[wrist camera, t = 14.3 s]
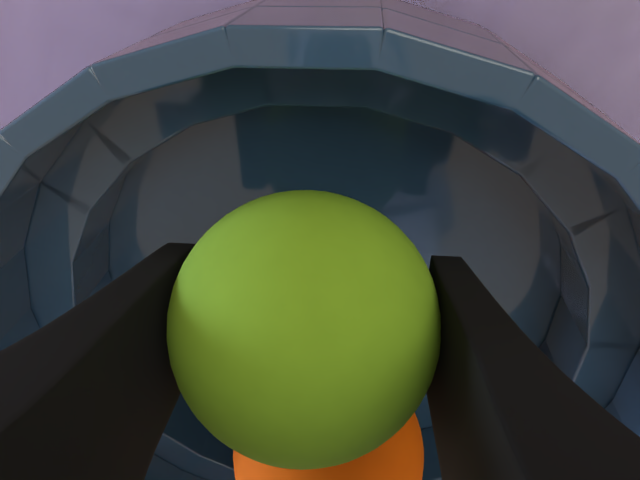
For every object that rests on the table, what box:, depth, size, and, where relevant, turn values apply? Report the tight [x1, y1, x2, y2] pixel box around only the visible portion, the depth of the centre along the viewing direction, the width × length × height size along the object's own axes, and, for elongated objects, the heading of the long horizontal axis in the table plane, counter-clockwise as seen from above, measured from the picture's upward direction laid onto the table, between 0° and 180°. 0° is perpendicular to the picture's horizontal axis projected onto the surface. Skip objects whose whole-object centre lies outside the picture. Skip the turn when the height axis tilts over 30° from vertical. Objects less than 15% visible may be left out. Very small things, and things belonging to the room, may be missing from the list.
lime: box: [167, 190, 441, 470], centre depth 9 cm, size 5×5×5 cm
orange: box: [233, 412, 424, 480], centre depth 14 cm, size 6×6×6 cm
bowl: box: [0, 0, 640, 480], centre depth 13 cm, size 17×17×5 cm
